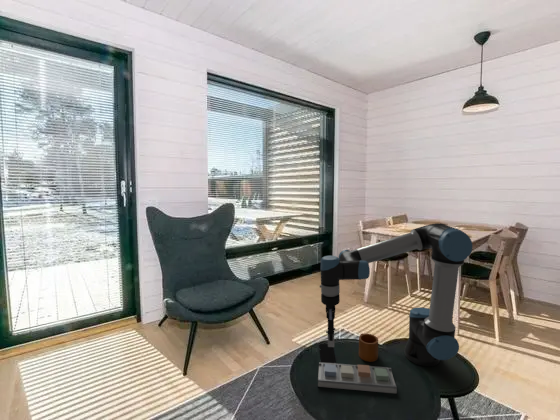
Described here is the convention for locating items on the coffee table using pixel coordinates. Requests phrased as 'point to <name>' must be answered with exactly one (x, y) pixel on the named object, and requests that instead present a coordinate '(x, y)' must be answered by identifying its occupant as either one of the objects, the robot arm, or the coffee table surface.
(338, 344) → the coffee table surface
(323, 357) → the smartphone
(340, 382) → the keypad
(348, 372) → the key cream
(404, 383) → the coffee table surface
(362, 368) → the key terracotta
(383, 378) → the key sage
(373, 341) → the mug
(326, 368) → the key blue
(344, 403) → the coffee table surface
